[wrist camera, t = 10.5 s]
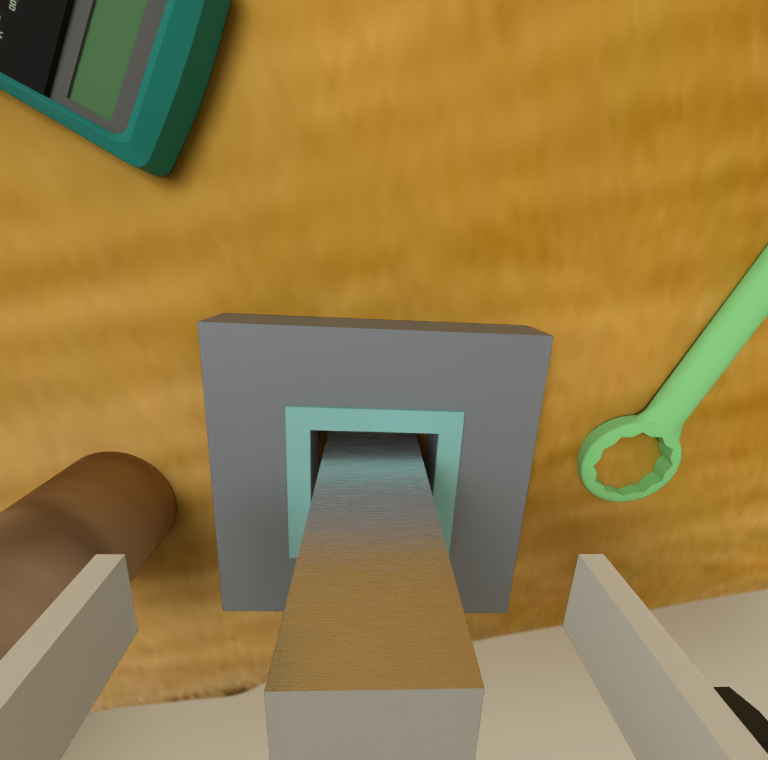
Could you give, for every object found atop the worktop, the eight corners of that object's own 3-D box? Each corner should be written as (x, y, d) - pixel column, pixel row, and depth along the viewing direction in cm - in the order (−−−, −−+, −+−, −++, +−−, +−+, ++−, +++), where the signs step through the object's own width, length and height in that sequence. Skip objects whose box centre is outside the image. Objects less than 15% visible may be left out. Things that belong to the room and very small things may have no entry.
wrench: (977, 54, 17) (900, -25, 16) (1054, 28, 15) (971, -63, 14) (625, 507, 22) (550, 469, 21) (650, 529, 20) (569, 488, 19)
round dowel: (71, 548, 21) (-178, 785, 12) (50, 450, 20) (-258, 630, 10) (181, 550, 21) (29, 782, 12) (170, 453, 20) (-17, 631, 10)
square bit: (332, 490, 21) (275, 833, 8) (331, 419, 20) (264, 691, 7) (408, 490, 21) (466, 828, 8) (412, 419, 20) (484, 688, 7)
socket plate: (240, 568, 22) (221, 614, 19) (223, 312, 18) (195, 322, 15) (490, 571, 22) (508, 616, 20) (526, 325, 19) (555, 336, 16)
